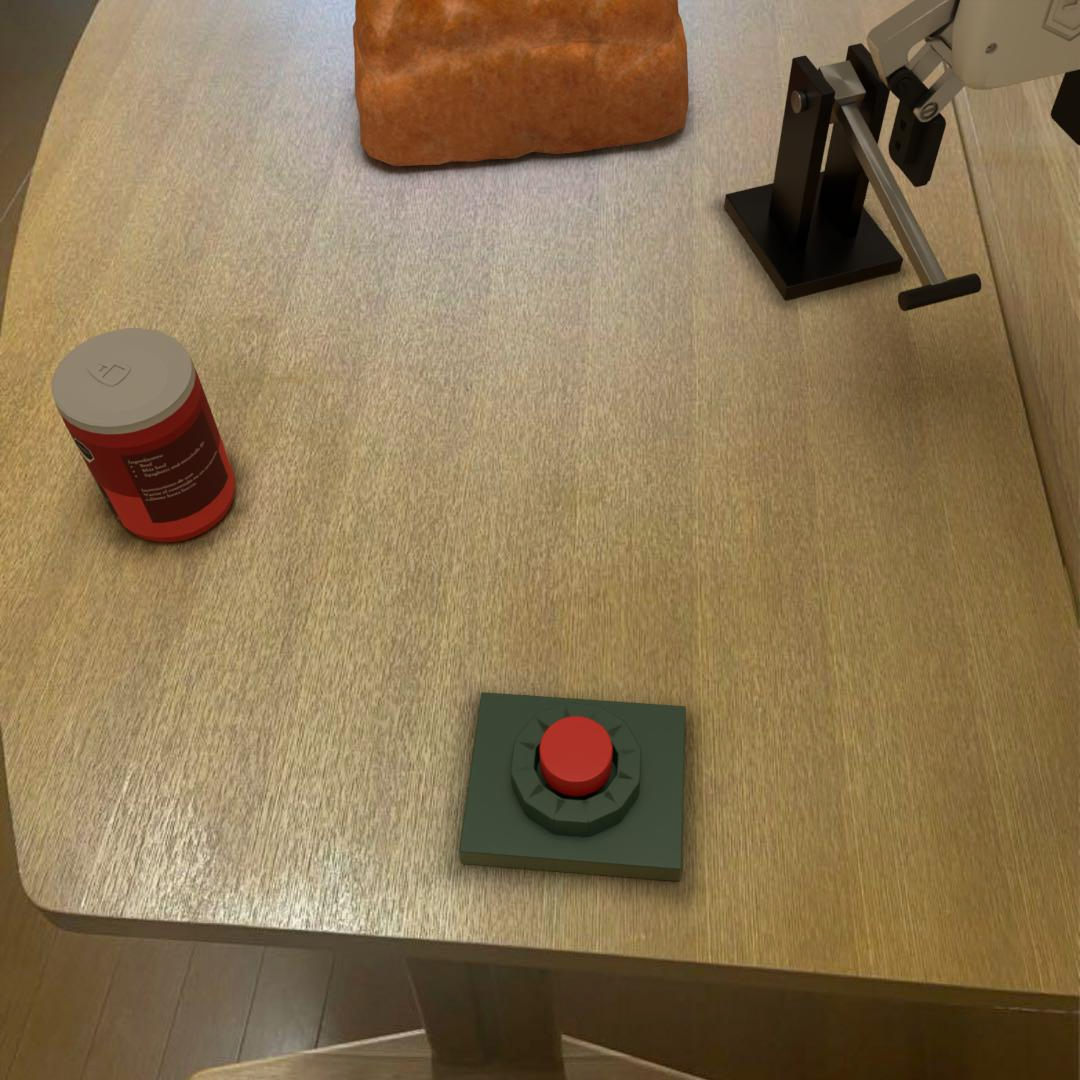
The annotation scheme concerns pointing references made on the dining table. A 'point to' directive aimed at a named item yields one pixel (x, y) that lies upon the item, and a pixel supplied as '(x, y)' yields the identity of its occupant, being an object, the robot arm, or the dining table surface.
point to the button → (576, 756)
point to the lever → (891, 195)
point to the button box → (576, 821)
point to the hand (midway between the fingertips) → (990, 150)
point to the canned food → (146, 433)
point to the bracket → (817, 191)
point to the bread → (515, 77)
